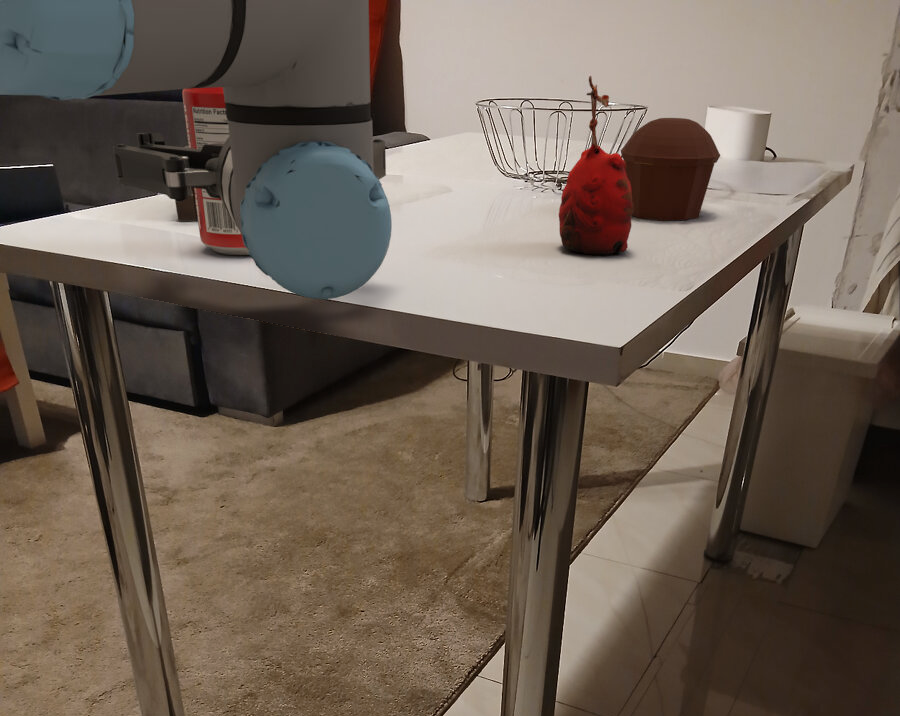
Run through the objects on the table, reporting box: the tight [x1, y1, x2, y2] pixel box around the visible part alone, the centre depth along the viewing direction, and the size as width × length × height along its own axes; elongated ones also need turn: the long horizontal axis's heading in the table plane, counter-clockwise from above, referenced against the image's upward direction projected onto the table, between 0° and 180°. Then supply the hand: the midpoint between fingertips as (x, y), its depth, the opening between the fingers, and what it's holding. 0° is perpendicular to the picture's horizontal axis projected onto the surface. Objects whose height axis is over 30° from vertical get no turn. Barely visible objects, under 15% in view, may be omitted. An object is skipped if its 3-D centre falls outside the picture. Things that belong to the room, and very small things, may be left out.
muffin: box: [620, 117, 721, 221], centre depth 105 cm, size 12×11×10 cm
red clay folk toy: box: [558, 75, 634, 256], centre depth 85 cm, size 8×7×15 cm
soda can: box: [181, 87, 250, 256], centre depth 83 cm, size 8×8×15 cm
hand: (244, 149), depth 75 cm, fingers open, 13 cm apart
